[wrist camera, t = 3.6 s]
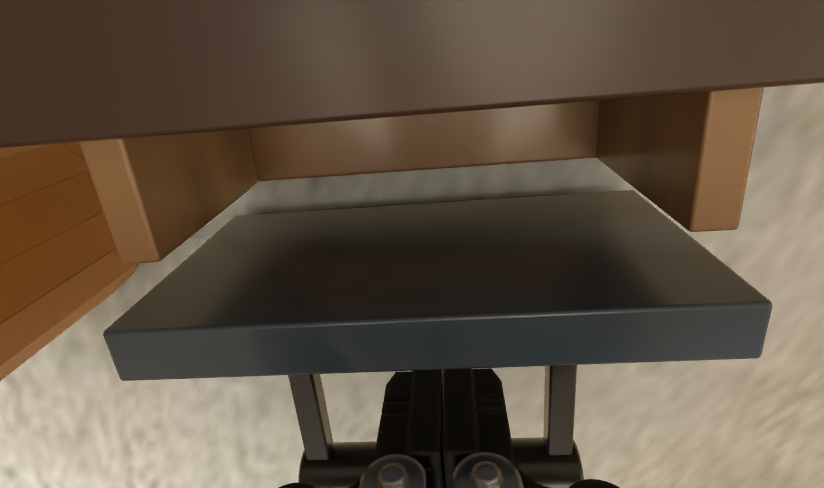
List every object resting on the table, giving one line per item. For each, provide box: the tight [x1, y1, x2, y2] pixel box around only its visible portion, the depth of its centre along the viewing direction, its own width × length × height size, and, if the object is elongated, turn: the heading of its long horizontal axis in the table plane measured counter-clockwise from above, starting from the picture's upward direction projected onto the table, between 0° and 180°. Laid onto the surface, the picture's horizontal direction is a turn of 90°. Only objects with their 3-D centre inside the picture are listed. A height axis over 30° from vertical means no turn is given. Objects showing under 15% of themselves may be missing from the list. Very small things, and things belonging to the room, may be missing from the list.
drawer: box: [79, 87, 772, 488], centre depth 11 cm, size 20×12×7 cm, turn 5°
